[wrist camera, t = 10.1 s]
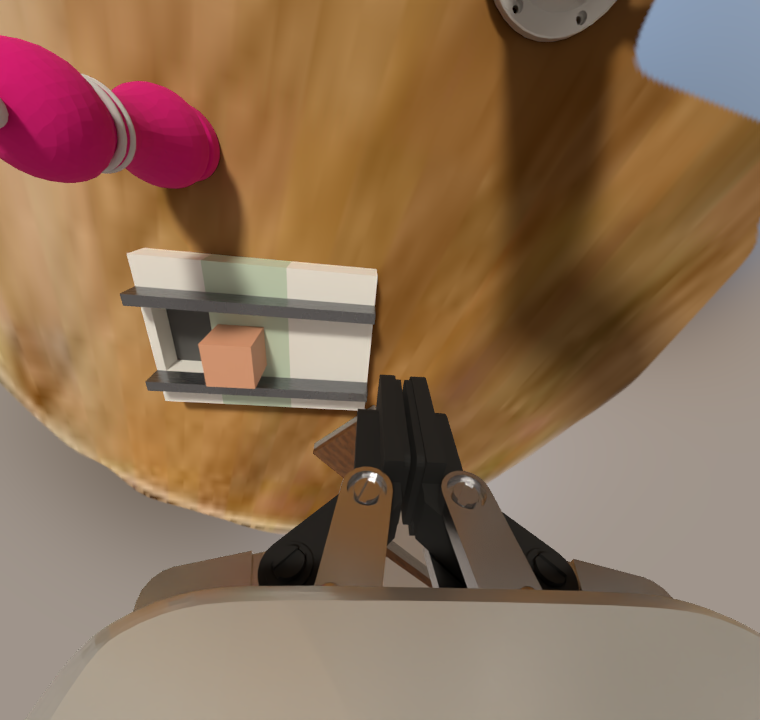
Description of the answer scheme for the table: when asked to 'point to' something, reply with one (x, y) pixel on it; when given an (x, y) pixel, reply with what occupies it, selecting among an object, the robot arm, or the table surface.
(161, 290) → the channel walls
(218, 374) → the terracotta block
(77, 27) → the table surface
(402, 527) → the display case
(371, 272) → the channel deck
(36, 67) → the pepper mill
